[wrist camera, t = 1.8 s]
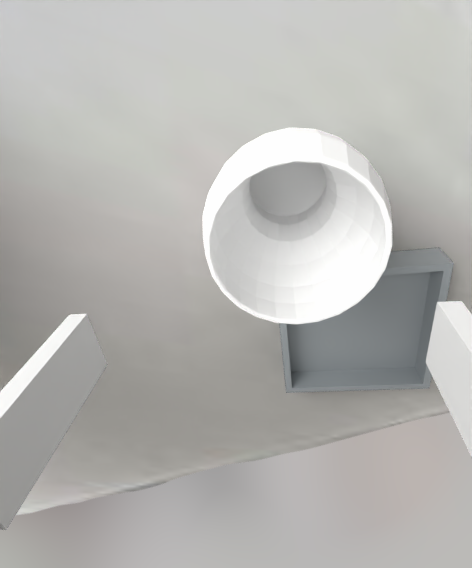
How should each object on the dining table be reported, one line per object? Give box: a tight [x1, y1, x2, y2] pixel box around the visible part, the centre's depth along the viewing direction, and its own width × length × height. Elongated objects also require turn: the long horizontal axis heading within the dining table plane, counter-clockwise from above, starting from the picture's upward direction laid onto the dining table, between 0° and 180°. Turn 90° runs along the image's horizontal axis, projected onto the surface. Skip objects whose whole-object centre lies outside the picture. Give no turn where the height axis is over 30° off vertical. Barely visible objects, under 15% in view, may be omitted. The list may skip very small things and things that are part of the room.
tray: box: [279, 248, 454, 393], centre depth 37 cm, size 15×15×3 cm
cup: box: [203, 128, 393, 324], centre depth 24 cm, size 11×11×15 cm
